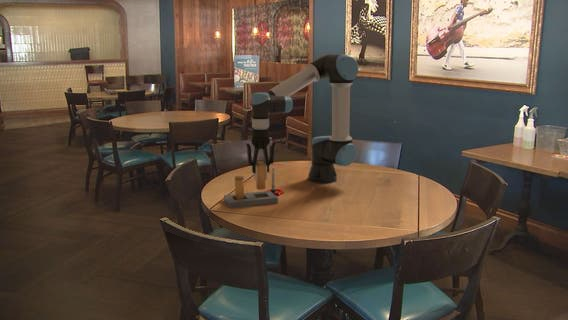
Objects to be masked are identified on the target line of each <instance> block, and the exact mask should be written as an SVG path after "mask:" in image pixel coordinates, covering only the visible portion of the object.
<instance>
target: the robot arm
mask: <svg viewBox="0 0 568 320" xmlns="http://www.w3.org/2000/svg"><path fill="white" fill-rule="evenodd" d="M358 73H359V63H358V61H357V59H355V57H354V56H352V55H351V54H346V53H345V54H344V53H341V54H326V55H323V56H322V55H321V57H319V58H317V59H315V60H313V61H312V62H309V63H308V64H306V66H305V68H304V69H302V70H301V71H299V72H298V73H295V74H293V75H292V76H290V77H289V78H286V79H285V80H284V81H282V82H281V83H279V84H277V85H275V86H273V87H272V88H270V89H269V90H266V91H264V92H258V91H257V92H253V93H252V96H251V127H252V129H251V140H250V141H249V142H245V147H246V148H247V149H246V152H247V153H246V155H247V164H248V165H249V166H251V169H252V170H251V171H252V174H253V177H254V178H253V179H254V181H255V182H256V181H258V167H257V166H256V162H258V156H259V151H260V150H262V152H263V159H264V162H265V181H268V173H270V166H271V165H273V164H274V155H275V154H274V153H275V146H276V145H277V144H276V142H275V141H273V140H271V139H270V129H269V128H270V115H273V114H285V113H286V114H287V113H290V112H291V111H292V109H293V107H294V103H293V99H292V97H291V96H292V95H294V94H295V93H297V92H299V91H300V90H302V89H304V88H305V87H307V86H309V85H310V84H312V83H317V82H319V81H321V80H324V79H328V84H329V85H330V86H331V89H332V91H331V92H332V94H331V95H332V96H331V99H332V100H331V119H332V120H331V135H321V136H315V137H313V138H312V140H311V166H310V170H309V171H308V176H307V179H308V181H310V182H313V183H320V184H323V183H324V184H327V183H333V182H336V181H337V180H338V175H337V171H336V168H335V165H337V166H340V167H348V166H350V165H352V164H353V163H354V162H355V160H356V158H357V156H358V149H357V147H356V145H355V144H353V137H352V136H351V135H350V124H351V123H350V117H351V116H350V115H351V113H350V112H351V111H350V110H351V109H350V107H351V86H352V85H353V84H354V79H356V78H357V75H358ZM252 145H253V156H252ZM268 145H269V154H268Z"/></svg>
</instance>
